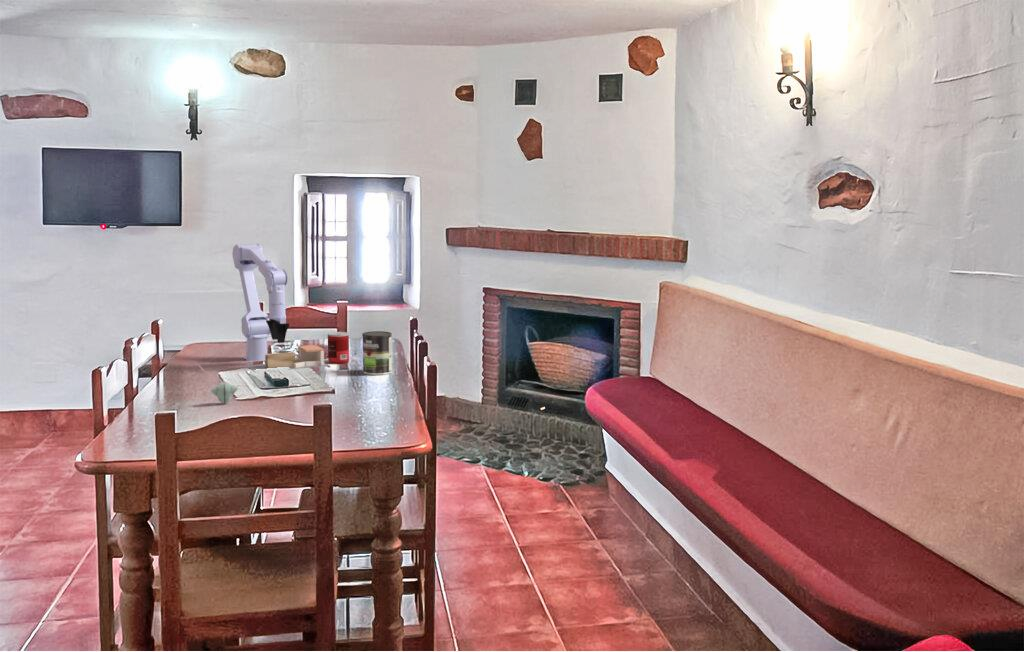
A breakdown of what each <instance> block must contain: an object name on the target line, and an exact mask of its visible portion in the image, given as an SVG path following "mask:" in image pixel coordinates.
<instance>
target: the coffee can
mask: <svg viewBox="0 0 1024 652" xmlns="http://www.w3.org/2000/svg"><path fill="white" fill-rule="evenodd" d="M361 335H362V373H363V374H364V375H368V376H384V375H389V374H392V372H393V369H392V367H393V366H392V364H393V363H392V361H393V360H392V356H393V355H392V335H393V333H392V332H390V331H385V330H383V331H381V330H379V331H378V330H377V331H372V330H371V331H365V332H363V333H362V334H361Z"/></svg>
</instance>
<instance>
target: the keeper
mask: <svg viewBox="0 0 1024 652" xmlns="http://www.w3.org/2000/svg"><path fill="white" fill-rule="evenodd" d="M298 349H299V350H298V351H299V354H298V355H299V358H296V363H294V366H289V368H290V369H289V370H296V369H297V370H298V369H306V368H307V369H308V368H320V367H327V368H330V367H331V365H330V364H328V363H326V362H325V348H323V347H321V346H319V345H317V344H310V345H309V344H307V345H298ZM245 366H246V368H249V369H250V370H251V371H253V370H256V369H267V367H266V366H265V363H259V364H248V365H245Z"/></svg>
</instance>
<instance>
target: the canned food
mask: <svg viewBox="0 0 1024 652" xmlns="http://www.w3.org/2000/svg"><path fill="white" fill-rule="evenodd" d="M349 343H350V337H349V332H346V331H333V332H331V331H330V332H328V333H327V358H328V360H327V361H328V363H329V364H332V365H342V364H347V363H349V362H350V344H349Z"/></svg>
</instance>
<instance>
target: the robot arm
mask: <svg viewBox="0 0 1024 652" xmlns="http://www.w3.org/2000/svg"><path fill="white" fill-rule="evenodd" d="M232 259H233V264H234V268H235V269H237V270H238V271H239V276H240V281H241V287H242V292H243V297H244V298H243V299H244V302H245V306H246V313H245V314H244V315H243V316H242V318H241V320H240V321H241V332H242V335H243V336H244V338H246V342H245V349H246V357H243V359H244V360H245V359H246V360H245V361H247V362H249V363H250V362H251V363H252V362H262V361H264V362H265V354H268V337H270V336H269V335H271V340H272V341H274V340H276V341H277V342H278V343H279V344H281V343H285V342H286V341H285V340H286V336H287V332H288V330H289V327H290V323H289V322H287V315H286V313H287V312H286V286H287V284H288V281H289V279H288V274H287V271H286V270H285V269H280V268H278V266H276V264H275V263H274V262H273V261H272V260H271V259H267V258H266V257H265V255H264V250H263V247H262V245H261V244H260V243H256V244H255V243H254V244H235V245H234V246H233V248H232ZM256 268H258V272H259V273H260V274H261V275H262V276H263V277H264V281H265V285H266V291H267V292H268V314H267V313H266V312H265V311H262V309H261V305H260V298H259V294H258V290H257V286H256V281H255V275H254V270H255V269H256Z"/></svg>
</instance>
